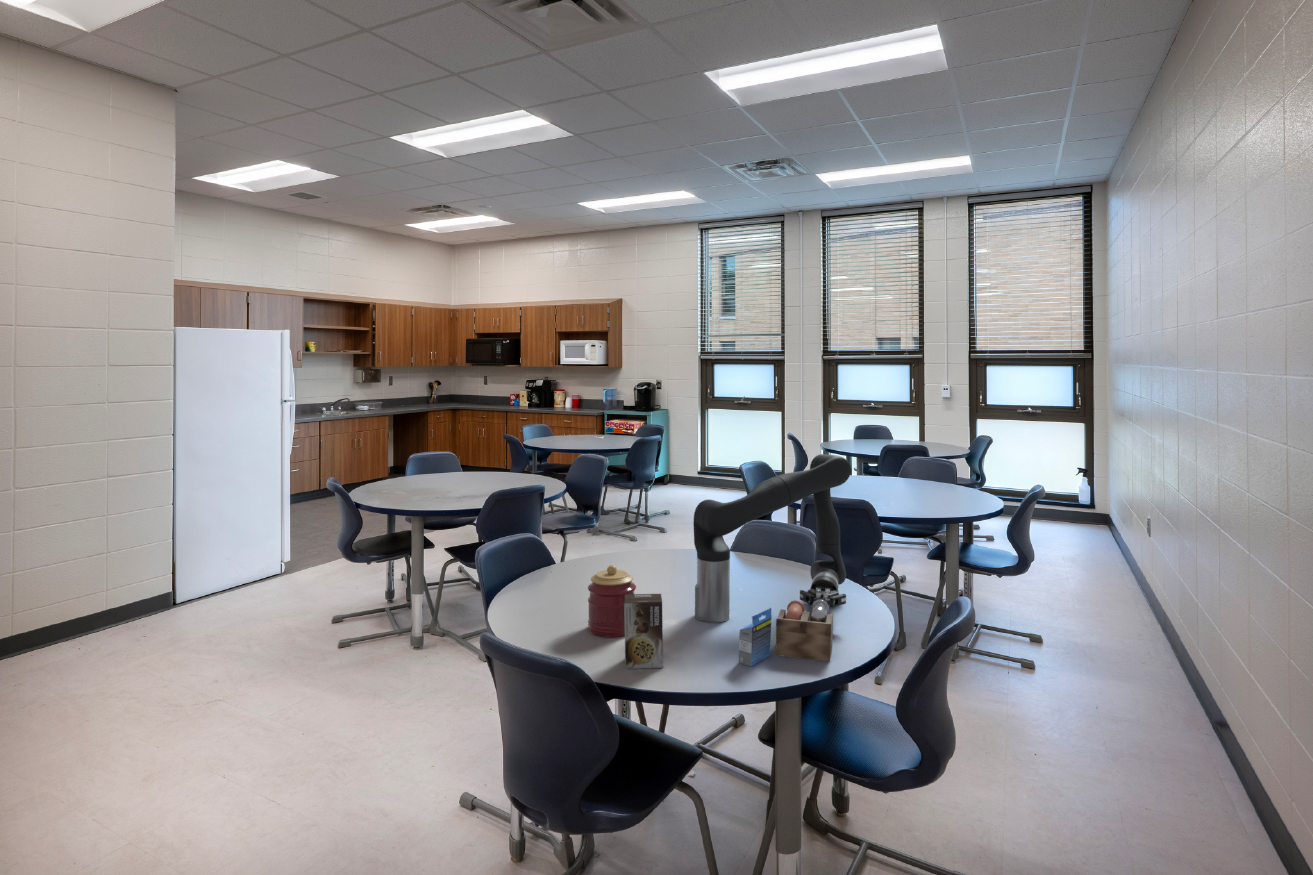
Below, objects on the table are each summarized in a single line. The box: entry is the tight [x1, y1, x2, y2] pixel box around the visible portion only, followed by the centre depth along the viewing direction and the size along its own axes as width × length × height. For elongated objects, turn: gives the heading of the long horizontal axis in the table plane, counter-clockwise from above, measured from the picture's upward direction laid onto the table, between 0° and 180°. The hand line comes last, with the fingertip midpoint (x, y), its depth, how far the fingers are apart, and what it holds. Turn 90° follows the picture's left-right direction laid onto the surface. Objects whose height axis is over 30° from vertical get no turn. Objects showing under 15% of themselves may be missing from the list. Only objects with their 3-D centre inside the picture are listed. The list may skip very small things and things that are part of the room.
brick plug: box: [785, 599, 806, 620], centre depth 182 cm, size 4×10×4 cm, turn 163°
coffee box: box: [624, 593, 664, 670], centre depth 171 cm, size 9×6×16 cm
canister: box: [587, 564, 637, 638], centre depth 193 cm, size 13×13×18 cm
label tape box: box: [737, 607, 773, 667], centre depth 173 cm, size 9×4×12 cm, turn 141°
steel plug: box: [810, 599, 830, 623], centre depth 183 cm, size 4×10×4 cm, turn 163°
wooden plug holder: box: [775, 609, 834, 662], centre depth 178 cm, size 13×8×9 cm, turn 73°
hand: (820, 606), depth 187 cm, fingers closed
